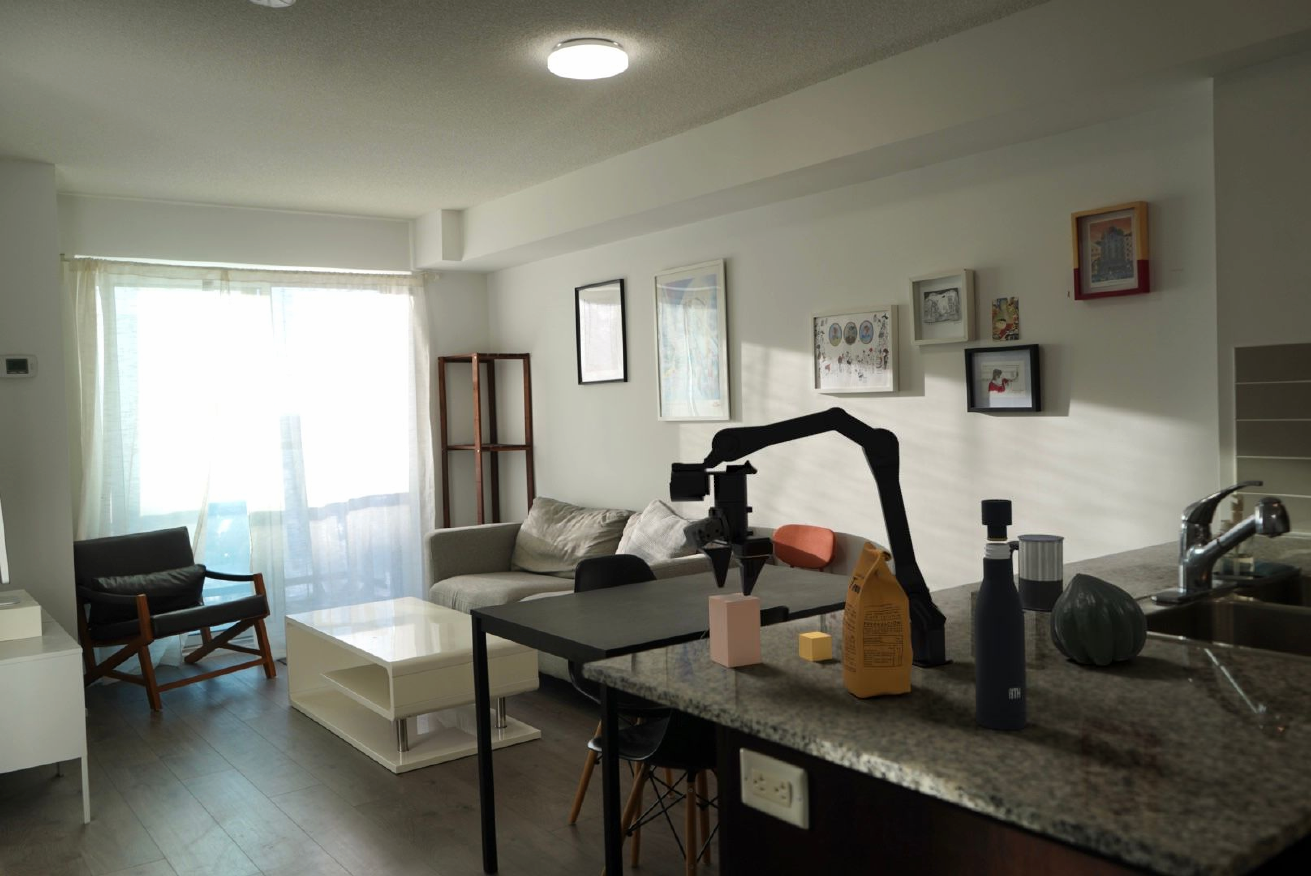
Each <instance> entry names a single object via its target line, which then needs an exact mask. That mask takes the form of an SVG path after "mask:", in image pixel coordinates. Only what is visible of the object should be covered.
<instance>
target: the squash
mask: <svg viewBox="0 0 1311 876" xmlns="http://www.w3.org/2000/svg"><path fill="white" fill-rule="evenodd" d="M1050 612H1051V613H1050V616H1049V620H1048V631H1049V633H1048V634H1049V635H1050V636H1049V637H1050V639H1051V642H1052V644H1053V645H1054V647H1055V649H1057V651H1059V653H1060V654H1061V655H1063V656H1064V657H1066V658H1068V659H1071V660H1074V661H1076V662H1077V663H1079V664H1082V665H1083V664H1085V665H1089V664H1093V663H1094V665H1097V666H1099V667H1101V666H1102V667H1103V666H1104V667H1105V666H1108V665H1109V664H1110V663H1111V662H1112V661H1115V662H1116V661H1117V662H1121V661H1128V660H1131V659H1133V658H1134V657H1136V656H1138V655H1139V654H1140V653H1141V652H1142V650H1143V649H1144V647H1145V644H1146V641H1147V637H1148V636H1147V635H1148V633H1147V632H1148V625H1147V624H1148V622H1147V618H1146V615H1145V613H1144V612H1143V609H1142V608H1141V606H1140V604H1139V603H1138V602H1137V600H1136V599H1135V598H1134V597H1133V596H1132V595H1131V594H1130V593H1129V592H1128V591H1126V590H1124V589H1123V588H1121V587H1120V586H1117V585H1116V584H1113V583H1111V582H1108V581H1106V580H1104V579H1102V578H1099V577H1096V576H1093V575H1090V574H1084V573H1080V572H1077V573H1075V576H1073V577H1072V578H1071V580H1070V581H1069V583H1068V585H1067V586H1066V588H1065V589H1063V593H1062V594H1061V596H1060V597H1059V599H1058V600H1057V602H1056V604H1055V606H1054V608H1053V610H1052V611H1050Z"/></svg>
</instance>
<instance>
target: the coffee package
mask: <svg viewBox="0 0 1311 876" xmlns="http://www.w3.org/2000/svg"><path fill="white" fill-rule="evenodd" d="M891 560H892V556H891V552H889V551H887V550H884V549H877V547H876V546H875V545H874V544H873V543H872V542H871V541H865V542H864V544H863V547H862V551H861V553H860V555H859V558H858V559H857V562H856V565H855V568H854V570H853V572H852V575H851V577H850V581H849V584H848V588H847V591H846V592H847V593H846V599H845V607H844V611H843V617H842V626H841V665H842V667H841V668H842V680H843V683H844V684H845V687H846V689H847V691H848V692H849V693H850V694H853V695H854V696H856V697H857V698H863V699H865V698H869V697H878V696H883V695H900V694H904V693H910V692H912V691H911V690H912V687H911V680H912V679H911V678H912V677H911V674H912V673H911V672H912V667H913V663H912V660H913V652H912V647H911V639H910V617H909V600H908V598H907V596H906V594H905V592H904V590H903V589H902V587H901V586H900V584H899V583H898V581H897V580H896V578H895V577H894V575H893V572H892V570H891V569H890V568H889V566H888V563H887V562H890V561H891Z"/></svg>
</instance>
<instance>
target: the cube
mask: <svg viewBox="0 0 1311 876" xmlns="http://www.w3.org/2000/svg"><path fill="white" fill-rule="evenodd" d="M832 643H833V642H832V635H830V634H828V633H824V632H820V631H812V632H806V633H799V634H798V647H799V648H798V650H799V651H798V653H799V658H802V659H804V660H807V661H810V662H819V661H825V660H832V659H833V649H832V645H833V644H832Z"/></svg>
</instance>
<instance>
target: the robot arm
mask: <svg viewBox="0 0 1311 876" xmlns="http://www.w3.org/2000/svg"><path fill="white" fill-rule="evenodd" d="M833 431H834V432H836V433H839V434H840V435H842V436H843V437H845V438H847V439H849V440H850V441H852V442H853V443H855V444H857V445H859V446H860V447H861V451H862V454H863V456H864V459H865V461H866V463H867V466H868V468H869V470H870V473H871V474H872V477H873V479H874V481H875V484H876V489H877V494H878V498H879V504H880V508H881V512H882V516H883V518H882V519H883V522H884V527H885V531H886V536H887V541H888V545H889V550H890V554H891V556H892V559H891V560H892V574H893V575H894V577H895V578H896V580H897V581H898V583H899V584H900V586H901V587H902V589H903V590H904V592H905V594H906V596H907V598H908V600H909V617H910V639H911V647H912V652H913V660H912V665H917V666H919V667H923V668H925V667H932V666H937V665H943V664H950V663H953V662H954V659H953V658H952V657H947V656H946V654H947V653H946V651H947V649H946V626H945V624H946V621H947V617H946V615H945V614H944V613H943V611H942V610H941V609H940V607H939V606H938V605H937V604H936V603H934V601H933V599H932V598H933V597H932V595H931V593H930V591H929V588H928V585H927V583H926V580H925V578H924V576H923V574H922V572H921V569H920V566H919V564H918V562H917V559H916V553H915V550H914V549H915V548H914V546H913V541H912V540H913V539H912V536H911V531H910V526H909V521H908V515H907V511H906V508H905V502H904V497H903V492H902V487H901V484H900V462H901V461H900V459H901V458H900V457H901V456H900V441H899V439H898V437H897V436H896V434H895V433H894V432H893V431H891V430H890V429H887V428H882V427H872V426H870V425H869V424H867V423H866V422H864V421H862V420H860V419H859V418H856V417H855V416H853V415H852V414H850V413H848V412H847V411H846V410H845V409H843V408H842V407H839V406H833V407H830V408H828V409H826V410H822V411H818V412H813V413H810V414H805V415H801V416H797V417H793V418H789V419H785V420H781V421H777V422H773V423H769V424H764V425H753V426H751V425H750V426H734V427H733V426H732V427H726V428H723V429H720V430H718V431H717V432H716V433H715V434H714V436H713V438H712V440H711V451H710V452H709V453H708V455H707V456H706V457H704V458H703V461H702V462H695V463H694V462H692V463H691V462H690V463H689V462H687V463H686V462H685V463H684V462H677V461H676V462H672V463H671V466H670V467H671V468H670V469H671V471H670V482H669V483H668V484H669V497H670V502H671V503H684V502H685V503H687V502H690V503H691V502H696V503H697V502H704V501H705V497H706V496H711V489H712V487H711V476H713V501H714V502H713V504H714V505H713V506H710V507H709V509H708V512H707V513H708V516H707V517H704V518H701V519H699V520H697V521H695V522H692V523H691V524H689V525H687V526H685V527H683V528H682V532H683V535H684V536H685V539H686V542H687V546H688V547H695V548H696V550H698V552H700V553H701V554H703V555H704V556H705V557H706V558H707V560H708V564H709V565H710V569H711V571H712V575H713V578H714V582H715V584H716V587H717V588H718V589H723V588H725V585H726V580H727V576H728V572H729V567H730V563H731V558H732V559H733V560H734V562H736V564H737V565H738V566H739V573H740V574H739V575H740V582H741V589H742V593H743V595H744V596H751V594H752V592H753V590H754V587H755V585H756V583H757V581H758V579H759V575H760V574H761V572H762V570H763V568H764V566H765V564H766V562H767V560H768V559H769V560H770V559H771V555H774V554H775V542H774V540H773V539H772V538H771V537H769V536H765V535H759V534H758V535H754V530H752V529H751V530H750V529H749V514H750V513H751V514H752V513H753V511H754V510H753V506H748V503H749V502H748V475H757V474H758V469H757V468H756V467H755V466H754V465H752V463H751V461H750V460H748V459H747V460H746V461H745V462H744V463H743V464H727V465H725V470H708V469H715V468H717V466H720V465H721V464H722V463H724V462H725V463H733V462H736V461H738V460H740V459H742V458H745V457H748V456H749V455H752V454H754V453H757V452H758V451H760V450H763V449H764V448H765V449H766V448H767V447H770V446H773V445H778V444H782V443H787V442H791V441H794V440H800V439H804V438H806V437H807V438H808V437H812V436H815V435H820V434H824V433H828V432H833ZM732 553H733V556H732Z"/></svg>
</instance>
